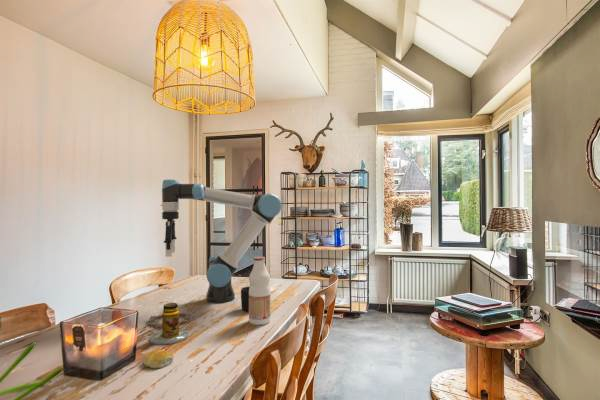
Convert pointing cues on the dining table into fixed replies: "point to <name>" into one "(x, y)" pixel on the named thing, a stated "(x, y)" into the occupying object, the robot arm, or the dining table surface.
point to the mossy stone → (158, 358)
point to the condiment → (170, 322)
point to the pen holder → (245, 299)
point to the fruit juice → (259, 293)
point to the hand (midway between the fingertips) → (170, 254)
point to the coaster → (168, 341)
